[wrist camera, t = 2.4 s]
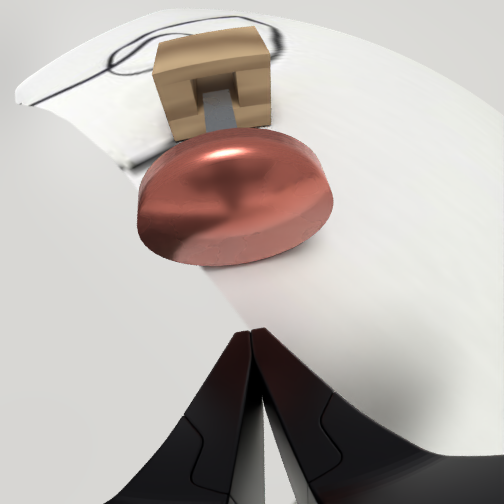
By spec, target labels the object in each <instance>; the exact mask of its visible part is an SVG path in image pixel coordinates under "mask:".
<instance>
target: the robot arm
mask: <svg viewBox="0 0 504 504" xmlns="http://www.w3.org/2000/svg"><path fill="white" fill-rule="evenodd" d="M262 399H263V401H262ZM263 403H264V407H265V410H266V413H267V416H268V419H269V422H270V425H271V428H272V431H273V434H274V437H275V440H276V443H277V446H278V449H279V452H280V455H281V458H282V461H283V464H284V467H285V469H286V472H287V475H288V478H289V481H290V483H291V486H292V489H293V492H294V494H295V498H296V500H297V503H298V504H504V455H492V456H446V455H440V454H436V453H432V452H429V451H427V450H424V449H422V448H420V447H418V446H416V445H415V444H413V443H411V442H409V441H408V440H406V439H404V438H402V437H401V436H399V435H397V434H395V433H394V432H392V431H390V430H389V429H387V428H385V427H384V426H382V425H380V424H379V423H377V422H375V421H374V420H372V419H371V418H369V417H368V416H366V415H365V414H363V413H362V412H360V411H359V410H358V409H356V408H355V407H354V406H353V405H351V404H350V403H349V402H347V401H346V400H345V399H344V398H343V397H342V396H340V395H339V394H338V393H337V392H334V390H333V389H332V388H331V387H330V386H329V385H328V384H326V383H325V382H324V381H323V380H322V379H321V378H320V377H319V376H317V375H316V374H315V373H314V372H313V371H312V370H311V369H310V368H308V367H307V366H306V365H305V364H304V363H303V362H302V361H301V360H300V359H298V358H297V357H296V356H295V355H294V354H293V353H292V352H291V351H290V350H289V349H288V348H286V347H285V346H284V345H283V344H282V343H281V342H280V341H279V340H278V339H277V338H276V337H275V336H274V335H272V334H271V333H270V332H269V331H268V330H267V329H266V328H258V329H253V330H251V333H250V331H248V330H247V331H241V332H236V333H235V334H234V335H233V337H232V338H231V340H230V342H229V343H228V345H227V347H226V348H225V350H224V351H223V353H222V355H221V356H220V358H219V359H218V361H217V363H216V364H215V366H214V368H213V369H212V371H211V372H210V374H209V375H208V377H207V379H206V380H205V382H204V383H203V385H202V386H201V388H200V390H199V391H198V393H197V394H196V396H195V397H194V399H193V401H192V402H191V404H190V405H189V407H188V408H187V410H186V411H185V413H184V416H182V418H181V419H180V420H179V422H178V424H177V425H176V426H175V428H174V429H173V431H172V432H171V433H170V435H169V436H168V438H167V439H166V440H165V442H164V443H163V444H162V445H161V447H160V448H159V449H158V450H157V451H156V453H155V454H154V455H153V456H152V458H151V459H150V460H149V461H148V462H147V463H146V464H145V465H144V467H142V469H141V470H140V471H139V472H138V473H137V474H136V475H135V476H134V477H133V478H132V479H131V481H130V482H129V483H128V484H127V485H126V486H125V487H124V488H123V489H122V490H121V491H120V492H119V493H118V494H117V495H116V496H114V497H113V498H112V499H110V500H109V501H107V502H106V503H104V504H265V483H264V482H265V481H264V427H263V426H264V424H263V423H264V421H263Z"/></svg>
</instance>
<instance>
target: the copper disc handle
mask: <svg viewBox="0 0 504 504" xmlns="http://www.w3.org/2000/svg"><path fill="white" fill-rule="evenodd" d="M203 104H204V115H205V126H206V133H204V134H201V135H198V136H196V137H193V138H190V139H188V140H186V141H184V142H182V143H180V144H178V145H176V146H174V147H173V148H171V149H170V150H168V151H167V152H165V153H164V154H163V155H161V156H160V157H159V158H158V159H157V160H156V161H155V162H154V163H153V164H152V165H151V166H150V168H149V169H148V170H147V172H146V173H145V175H144V177H143V179H142V181H141V184H140V187H139V194H138V214H137V229H138V234H139V236H140V239H141V240H142V242H143V243H144V245H145V246H147V247H148V248H149V249H150V250H151V251H153V252H154V253H155V254H157V255H159V256H161V257H163V258H166V259H169V260H172V261H175V262H179V263H184V264H190V265H200V266H224V265H234V264H241V263H247V262H252V261H256V260H260V259H264V258H267V257H271V256H274V255H277V254H279V253H282V252H284V251H287V250H289V249H291V248H293V247H295V246H297V245H299V244H301V243H302V242H304V241H306V240H307V239H308V238H310V237H311V236H313V235H314V234H315V233H316V232H317V231H318V230H320V228H321V227H322V226H323V225H324V224H325V223H326V221H327V220H328V218H329V216H330V214H331V212H332V208H333V196H332V192H331V189H330V186H329V184H328V181H327V179H326V176H325V173H324V171H323V168H322V166H321V163H320V161H319V160H318V158H317V156H316V155H315V154H314V153H313V151H312V150H311V149H310V148H309V147H307V146H306V145H305V144H304V143H302V142H300V141H299V140H297V139H295V138H293V137H291V136H288V135H286V134H283V133H280V132H276V131H272V130H267V129H259V128H237V124H236V120H235V115H234V111H233V106H232V101H231V97H230V92H229V89H225V90H219V91H214V92H208V93H203Z"/></svg>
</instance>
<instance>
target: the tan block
mask: <svg viewBox="0 0 504 504" xmlns="http://www.w3.org/2000/svg"><path fill="white" fill-rule="evenodd" d="M152 76H153V79H154V82H155V85H156V88H157V91H158V94H159V97H160V100H161V103H162V106H163V109H164V111H165V114H166V117H167V120H168V123H169V126H170V128H171V131H172V134H173V137H174V140H175V141H179V140H184V139H188V138H193V137H196V136H198V135H201V134H204V133H206V126H205V115H204V104H203V93H208V92H214V91H219V90H225V89H229V92H230V97H231V101H232V106H233V111H234V115H235V120H236V124H237V128H249V127H256V126H264V125H271V77H270V53H269V51H268V49H267V47H266V45H265V44H264V42H263V40H262V38H261V36H260V35H259V33H258V31H257V30H256V28H255V26H251V27H241V28H233V29H225V30H218V31H212V32H206V33H201V34H196V35H191V36H186V37H181V38H177V39H173V40H169V41H165V42H161V43H159V45H158V49H157V54H156V58H155V63H154V67H153V72H152Z"/></svg>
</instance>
